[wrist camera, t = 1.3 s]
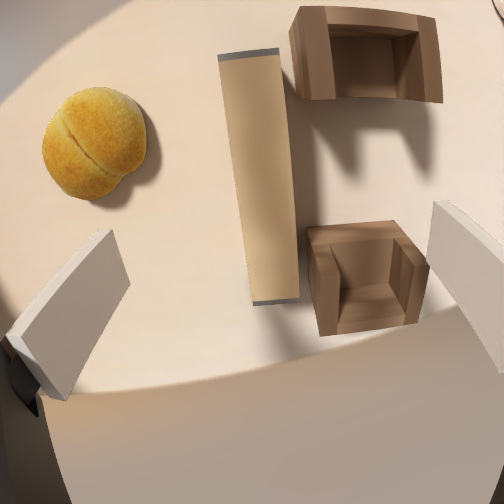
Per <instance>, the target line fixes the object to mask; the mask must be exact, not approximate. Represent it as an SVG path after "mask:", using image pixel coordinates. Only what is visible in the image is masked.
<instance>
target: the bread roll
mask: <svg viewBox="0 0 504 504" xmlns="http://www.w3.org/2000/svg"><path fill="white" fill-rule="evenodd" d="M145 153H146V128H145V123H144V119H143V115H142V113H141V110H140V109H139V107H138V105H137V104H136V103H135V101H134V100H133V99H131V98H130V97H129V96H128V95H126V94H123V93H121V92H119V91H116V90H113V89H110V88H106V87H94V88H88V89H85V90H82V91H80V92H77V93H75V94H73V95H72V96H70V97H69V98H68V99H67V100H66V101H65V102H64V104H63V105H62V106H61V108H60V109H59V110H58V112H57V113H56V114H55V116H54V117H53V118H52V120H51V121H50V123H49V125H48V127H47V129H46V132H45V135H44V139H43V145H42V154H43V159H44V162H45V165H46V167H47V170H48V171H49V173H50V175H51V176H52V178H53V179H54V180H55V181H56V183H57V184H58V185H59V186H60V188H61V189H62V190H63V191H64V192H65V193H66V194H68V195H69V196H71V197H76V198H79V199H83V200H94V199H97V198H100V197H103V196H105V195H107V194H109V193H110V192H111V191H112V190H113V189H114V188H115V187H116V186H117V184H118V183H119V182H120V180H121V179H122V178H123V177H124V176H125V175H126V174H130V173H132V172H134V171H135V170H137V169H138V167H139V166H140V165H141V163H142V162H143V160H144V158H145Z"/></svg>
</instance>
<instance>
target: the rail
mask: <svg viewBox="0 0 504 504" xmlns="http://www.w3.org/2000/svg"><path fill="white" fill-rule="evenodd" d="M217 56H218V63H219V71H220V78H221V85H222V92H223V100H224V107H225V114H226V121H227V128H228V135H229V142H230V150H231V157H232V164H233V171H234V178H235V185H236V191H237V198H238V205H239V212H240V219H241V226H242V233H243V240H244V247H245V253H246V260H247V267H248V274H249V280H250V287H251V294H252V300H253V306H261V305H274V304H285V303H297V302H300V292H299V271H298V252H297V235H296V219H295V205H294V192H293V179H292V167H291V155H290V145H289V134H288V124H287V114H286V105H285V96H284V87H283V78H282V70H281V62H280V54H279V48H271V49H260V50H250V51H242V52H234V53H227V54H220V55H217Z"/></svg>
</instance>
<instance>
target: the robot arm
mask: <svg viewBox="0 0 504 504" xmlns="http://www.w3.org/2000/svg"><path fill="white" fill-rule="evenodd" d="M426 262H427V263H428V264H429V266H430V267H431V268H432V270H433V271H434V272H435V274H436V275H437V276H438V278H439V279H440V280H441V282H442V283H443V285H444V286H445V287H446V289H447V290H448V292H449V293H450V294H451V296H452V297H453V299H454V300H455V302H456V303H457V305H458V306H459V308H460V309H461V310H462V312H463V313H464V315H465V316H466V318H467V320H468V321H469V323H470V324H471V326H472V327H473V329H474V331H475V332H476V333H477V335H478V337H479V338H480V340H481V342H482V343H483V345H484V347H485V348H486V350H487V352H488V354H489V355H490V357H491V359H492V360H493V362H494V364H495V366H496V367H497V369H498V371H499V373H500V374H502V373H504V246H503V245H502V244H501V243H500V242H499V241H498V240H497V239H495V238H494V237H493V236H492V235H491V234H490V233H489V232H487V231H486V230H485V229H484V228H483V227H482V226H480V225H479V224H478V223H477V222H476V221H474V220H473V219H472V218H471V217H469V216H468V215H467V214H466V213H464V212H463V211H462V210H461V209H459V208H458V207H457V206H455V205H454V204H453V203H452V202H450V201H449V200H441V201H434V202H433V211H432V220H431V228H430V236H429V243H428V249H427V255H426ZM129 286H130V281H129V278H128V276H127V273H126V270H125V267H124V264H123V261H122V258H121V255H120V252H119V249H118V246H117V243H116V240H115V237H114V234H113V230H112V229H107V230H100V231H97V232H96V233H95V234H94V235H93V236H92V237H91V238H90V239H89V240H88V241H87V242H86V243H85V244H84V245H83V246H82V247H81V248H80V249H79V250H78V251H77V252H76V253H75V254H74V255H73V256H72V257H71V258H70V259H69V260H68V261H67V263H66V264H65V265H64V266H63V267H62V268H61V269H60V270H59V271H58V272H57V273H56V274H55V276H54V277H53V278H52V279H51V280H50V281H49V282H48V283H47V285H46V286H45V287H44V288H43V289H42V290H41V291H40V293H39V294H38V295H37V296H36V297H35V298H34V300H33V301H32V302H31V303H30V304H29V305H28V307H27V308H26V309H25V310H24V312H23V313H22V314H21V315H20V316H19V318H18V319H17V320H16V321H15V323H14V324H13V325H12V327H11V328H10V329H9V330H8V332H7V333H6V334H5V337H4V338H3V339H2V341H1V342H0V504H72V503H71V500H70V497H69V495H68V492H67V489H66V487H65V484H64V481H63V478H62V475H61V472H60V469H59V466H58V463H57V459H56V456H55V453H54V449H53V445H52V442H51V438H50V434H49V430H48V426H47V422H46V417H45V412H44V408H43V403H42V399H41V397H40V396H39V394H38V393H37V391H38V389H39V388H40V386H41V387H42V388H43V390H44V391H45V392H46V393H47V395H48V396H49V397H50V398H54V399H58V400H62V401H67V399H68V397H69V395H70V393H71V391H72V389H73V387H74V385H75V383H76V381H77V379H78V377H79V375H80V373H81V371H82V369H83V367H84V365H85V363H86V361H87V360H88V358H89V356H90V354H91V352H92V350H93V348H94V347H95V345H96V343H97V341H98V339H99V337H100V336H101V334H102V332H103V330H104V328H105V327H106V325H107V323H108V321H109V320H110V318H111V316H112V314H113V313H114V311H115V309H116V308H117V306H118V304H119V302H120V301H121V299H122V297H123V296H124V294H125V292H126V291H127V289H128V287H129ZM490 504H504V466H503V469H502V472H501V475H500V478H499V481H498V484H497V486H496V489H495V491H494V494H493V496H492V499H491V501H490Z"/></svg>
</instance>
